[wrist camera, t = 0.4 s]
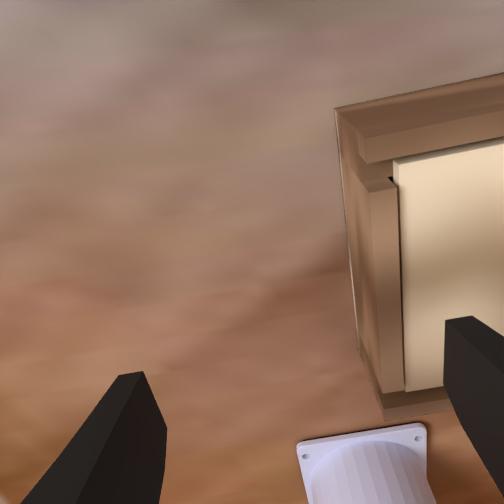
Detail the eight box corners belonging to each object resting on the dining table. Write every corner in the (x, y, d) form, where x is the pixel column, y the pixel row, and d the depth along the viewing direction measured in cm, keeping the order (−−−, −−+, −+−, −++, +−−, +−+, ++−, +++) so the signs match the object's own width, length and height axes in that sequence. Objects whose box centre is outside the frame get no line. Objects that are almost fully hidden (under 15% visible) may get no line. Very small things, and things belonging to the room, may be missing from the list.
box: (565, 313, 23) (638, 379, 19) (358, 349, 23) (384, 421, 19) (619, 47, 16) (746, 60, 12) (333, 108, 17) (365, 138, 13)
